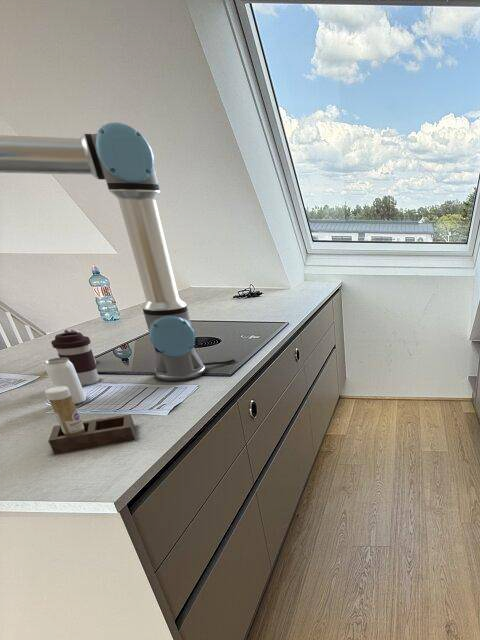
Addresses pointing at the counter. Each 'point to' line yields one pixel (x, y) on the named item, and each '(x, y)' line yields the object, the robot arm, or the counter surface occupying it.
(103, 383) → the counter surface
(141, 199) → the robot arm
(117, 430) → the holder
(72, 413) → the sprinkles bottle
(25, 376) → the counter surface
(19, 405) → the counter surface
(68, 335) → the coffee cup
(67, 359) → the can
